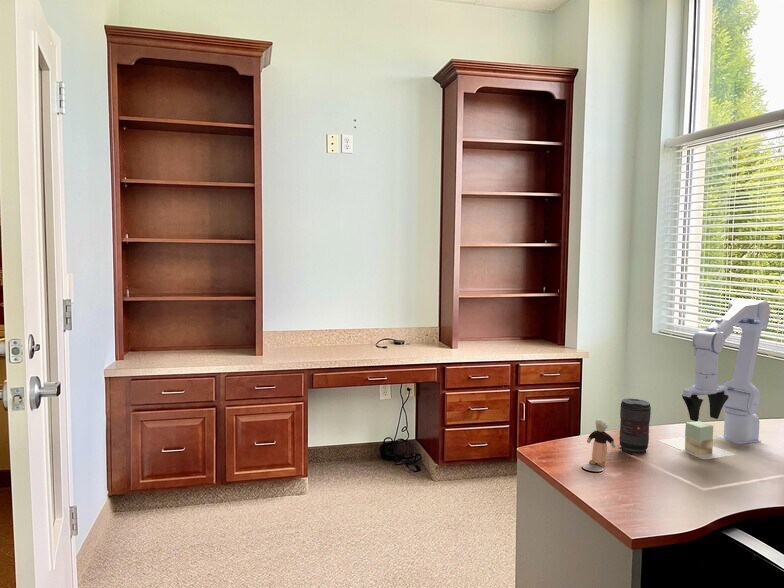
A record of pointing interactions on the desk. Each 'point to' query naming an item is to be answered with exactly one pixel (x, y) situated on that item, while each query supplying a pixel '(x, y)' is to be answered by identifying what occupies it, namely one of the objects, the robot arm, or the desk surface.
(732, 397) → the robot arm
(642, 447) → the camera lens
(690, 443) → the beech block
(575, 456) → the desk surface
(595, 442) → the grandmother figurine
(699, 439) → the sage block
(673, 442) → the plate
